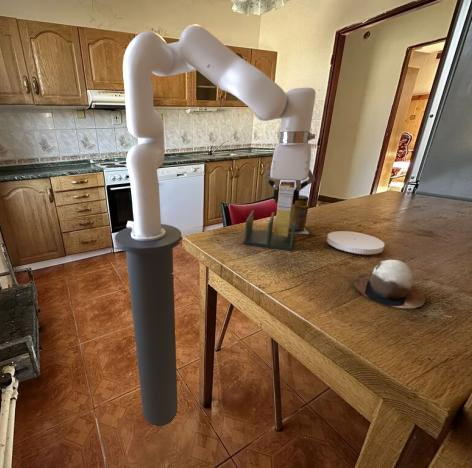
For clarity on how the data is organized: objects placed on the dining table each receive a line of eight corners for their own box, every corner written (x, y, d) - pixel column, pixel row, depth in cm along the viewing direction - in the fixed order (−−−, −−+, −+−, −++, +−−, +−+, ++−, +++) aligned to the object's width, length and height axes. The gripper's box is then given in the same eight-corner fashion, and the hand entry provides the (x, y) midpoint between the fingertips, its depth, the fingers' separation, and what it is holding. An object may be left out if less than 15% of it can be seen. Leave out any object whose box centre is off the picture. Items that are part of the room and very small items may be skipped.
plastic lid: (385, 261, 68) (387, 253, 67) (324, 251, 76) (326, 243, 75) (379, 243, 79) (381, 235, 78) (327, 235, 86) (328, 228, 85)
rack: (244, 244, 82) (246, 220, 79) (250, 231, 92) (252, 210, 89) (291, 250, 76) (295, 225, 74) (292, 236, 86) (296, 214, 84)
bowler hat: (353, 266, 64) (398, 245, 57) (385, 301, 62) (436, 284, 55) (344, 285, 56) (396, 264, 49) (380, 327, 54) (439, 310, 47)
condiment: (303, 226, 95) (308, 194, 91) (309, 234, 88) (315, 200, 83) (282, 225, 97) (286, 194, 93) (286, 233, 89) (291, 199, 85)
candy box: (275, 226, 86) (281, 180, 81) (288, 227, 84) (296, 181, 79) (272, 235, 79) (279, 186, 73) (287, 237, 77) (295, 187, 71)
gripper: (327, 137, 71) (315, 201, 78) (263, 139, 78) (258, 197, 85) (329, 138, 65) (317, 208, 72) (260, 140, 72) (254, 203, 79)
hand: (285, 201), depth 78 cm, fingers closed on candy box, 4 cm apart
